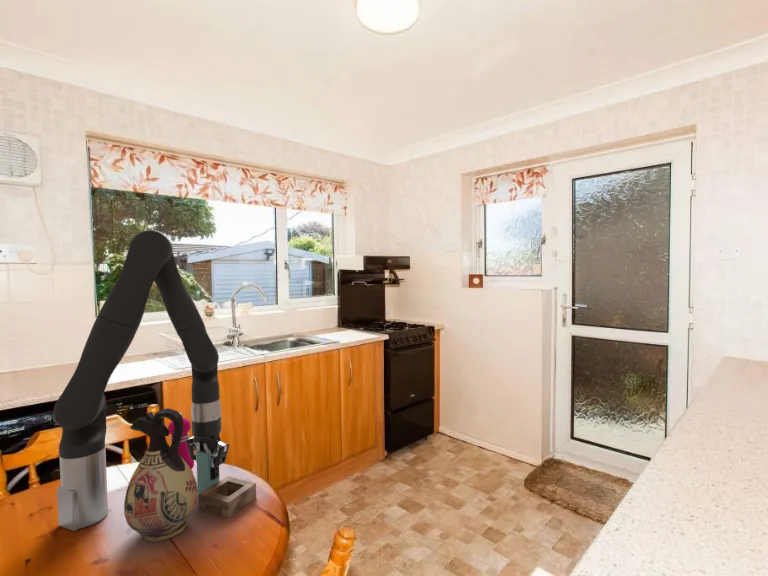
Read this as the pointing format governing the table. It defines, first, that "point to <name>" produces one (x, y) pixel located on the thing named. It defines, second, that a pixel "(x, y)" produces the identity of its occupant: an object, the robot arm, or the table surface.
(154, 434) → the ceramic jug
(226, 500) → the socket block
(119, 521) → the table surface
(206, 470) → the peg
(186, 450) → the pepper mill
